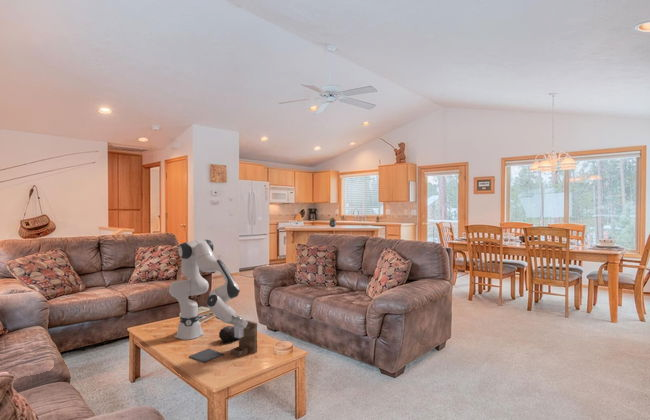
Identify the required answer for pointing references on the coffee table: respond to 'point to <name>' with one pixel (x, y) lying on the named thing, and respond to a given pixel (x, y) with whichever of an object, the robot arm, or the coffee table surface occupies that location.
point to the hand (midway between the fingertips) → (239, 326)
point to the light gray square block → (238, 332)
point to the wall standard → (247, 341)
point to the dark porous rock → (227, 334)
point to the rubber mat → (206, 355)
